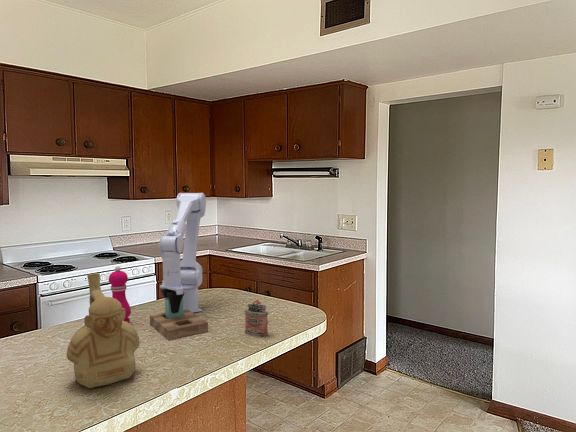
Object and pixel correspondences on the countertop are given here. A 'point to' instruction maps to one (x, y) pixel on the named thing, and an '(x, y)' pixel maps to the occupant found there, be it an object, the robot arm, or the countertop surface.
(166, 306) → the teal cuboid tower
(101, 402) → the countertop surface
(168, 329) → the socket board
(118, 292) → the pepper mill
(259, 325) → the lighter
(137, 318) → the countertop surface
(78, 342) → the ceramic vessel
